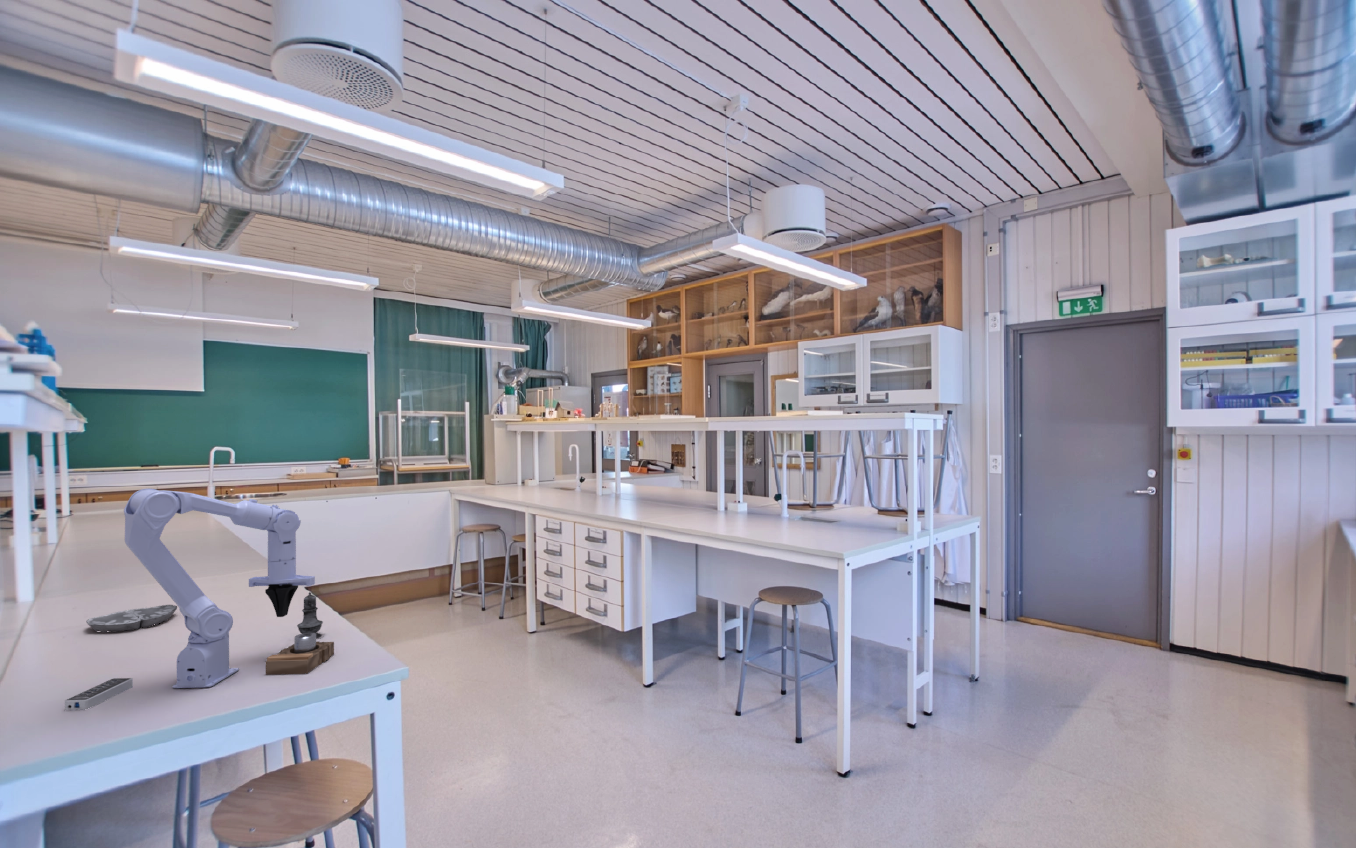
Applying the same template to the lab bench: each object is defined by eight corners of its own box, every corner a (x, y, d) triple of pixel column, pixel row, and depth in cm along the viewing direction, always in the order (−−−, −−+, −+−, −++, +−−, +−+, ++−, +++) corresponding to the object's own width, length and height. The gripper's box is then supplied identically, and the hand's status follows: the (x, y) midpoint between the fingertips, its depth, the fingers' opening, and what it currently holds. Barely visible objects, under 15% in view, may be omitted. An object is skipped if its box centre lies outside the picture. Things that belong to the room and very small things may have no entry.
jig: (309, 673, 139) (309, 657, 139) (263, 675, 139) (263, 658, 139) (337, 653, 152) (337, 638, 152) (295, 654, 151) (294, 639, 151)
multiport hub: (133, 688, 133) (133, 677, 133) (86, 712, 122) (86, 700, 122) (112, 689, 133) (112, 678, 133) (63, 712, 122) (63, 700, 122)
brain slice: (95, 641, 163) (95, 630, 163) (81, 629, 173) (81, 618, 173) (187, 622, 179) (187, 612, 179) (169, 612, 189) (169, 602, 189)
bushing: (310, 664, 145) (311, 638, 145) (290, 665, 144) (290, 639, 145) (319, 657, 149) (319, 632, 149) (299, 658, 149) (299, 633, 149)
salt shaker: (293, 642, 160) (293, 595, 160) (301, 635, 166) (300, 590, 166) (319, 640, 162) (319, 593, 162) (325, 632, 167) (325, 588, 167)
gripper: (321, 555, 154) (321, 610, 153) (261, 556, 153) (262, 611, 153) (305, 561, 146) (305, 619, 146) (242, 562, 146) (242, 620, 146)
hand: (282, 615), depth 149 cm, fingers closed
